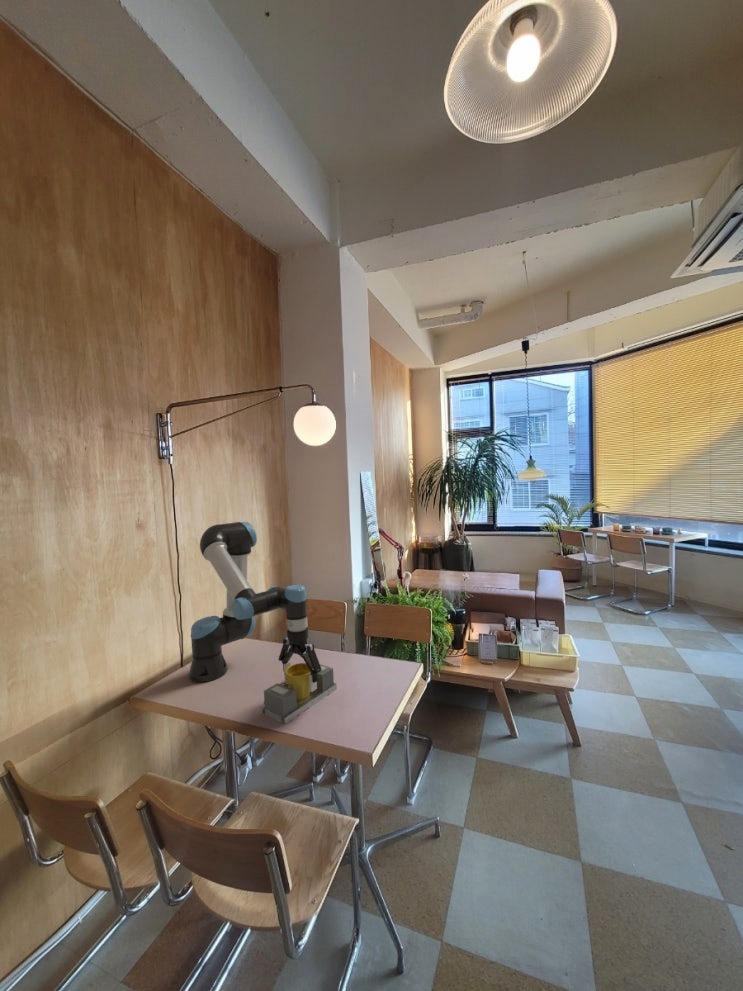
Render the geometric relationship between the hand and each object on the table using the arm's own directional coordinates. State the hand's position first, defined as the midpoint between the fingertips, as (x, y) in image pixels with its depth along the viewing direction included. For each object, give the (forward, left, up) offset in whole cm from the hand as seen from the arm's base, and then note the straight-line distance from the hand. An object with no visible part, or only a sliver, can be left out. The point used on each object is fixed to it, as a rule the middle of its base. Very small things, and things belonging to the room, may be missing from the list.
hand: (300, 685), depth 144 cm
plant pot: (0, 0, -4) cm, 4 cm away
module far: (0, +10, -4) cm, 10 cm away
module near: (0, -10, -4) cm, 10 cm away
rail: (0, 0, -6) cm, 6 cm away
